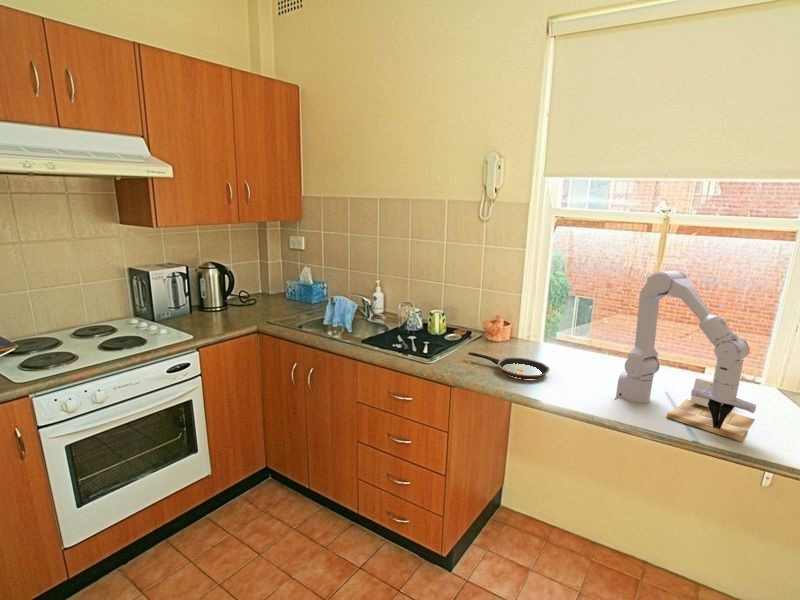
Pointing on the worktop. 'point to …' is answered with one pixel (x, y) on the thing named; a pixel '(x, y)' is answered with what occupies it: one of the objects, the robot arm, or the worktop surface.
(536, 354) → the worktop surface
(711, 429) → the plank
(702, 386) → the small box
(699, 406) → the laid board
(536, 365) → the frying pan
